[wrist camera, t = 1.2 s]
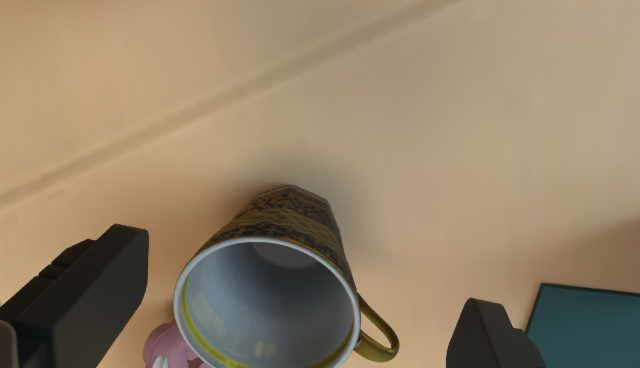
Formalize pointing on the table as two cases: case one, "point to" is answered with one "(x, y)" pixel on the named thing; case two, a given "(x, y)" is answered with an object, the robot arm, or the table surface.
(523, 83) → the table surface
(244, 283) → the ceramic cup
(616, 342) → the placemat
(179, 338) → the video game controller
